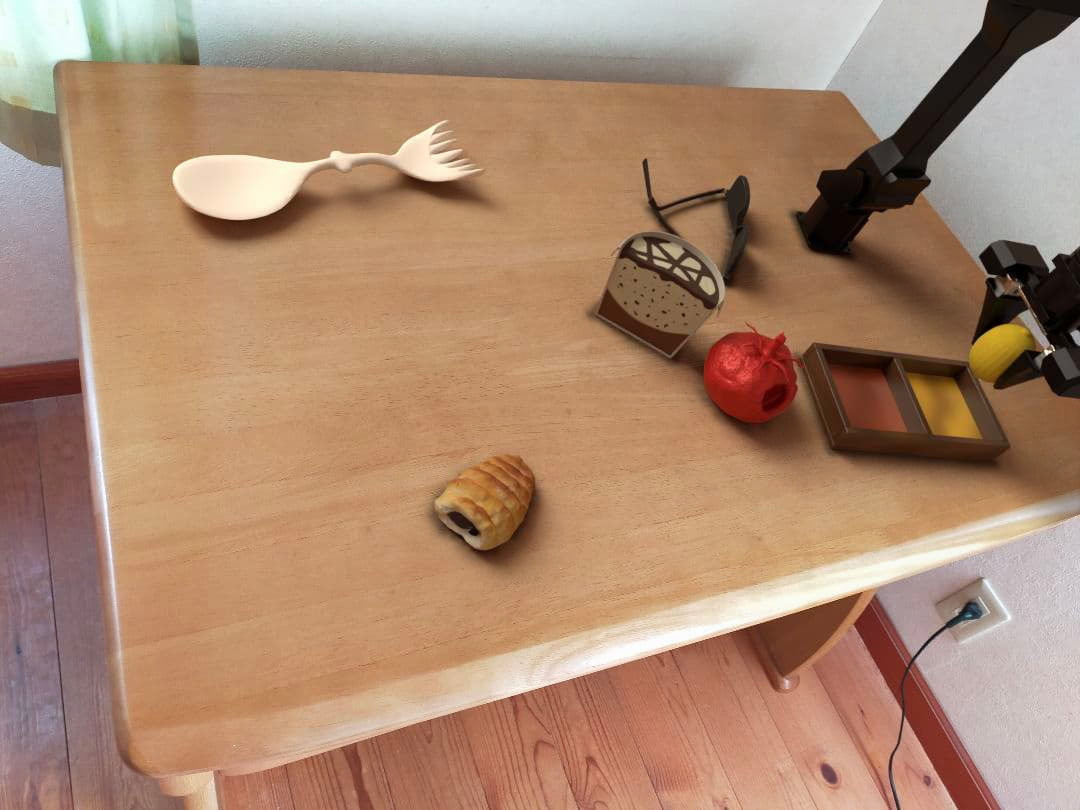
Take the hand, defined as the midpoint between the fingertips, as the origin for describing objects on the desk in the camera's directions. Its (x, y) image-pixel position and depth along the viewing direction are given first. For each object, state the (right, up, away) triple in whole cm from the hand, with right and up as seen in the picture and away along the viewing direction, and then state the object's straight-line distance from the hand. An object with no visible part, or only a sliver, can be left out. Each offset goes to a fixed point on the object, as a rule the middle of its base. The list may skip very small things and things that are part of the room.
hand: (985, 366), depth 95 cm
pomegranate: (-28, -3, -2) cm, 28 cm away
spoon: (-70, +19, -3) cm, 73 cm away
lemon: (0, -1, +2) cm, 2 cm away
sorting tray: (-8, -5, +5) cm, 10 cm away
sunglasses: (-31, +18, +13) cm, 38 cm away
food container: (-37, +5, 0) cm, 38 cm away
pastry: (-53, -13, -19) cm, 58 cm away
